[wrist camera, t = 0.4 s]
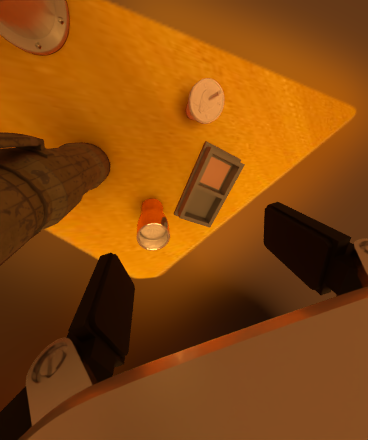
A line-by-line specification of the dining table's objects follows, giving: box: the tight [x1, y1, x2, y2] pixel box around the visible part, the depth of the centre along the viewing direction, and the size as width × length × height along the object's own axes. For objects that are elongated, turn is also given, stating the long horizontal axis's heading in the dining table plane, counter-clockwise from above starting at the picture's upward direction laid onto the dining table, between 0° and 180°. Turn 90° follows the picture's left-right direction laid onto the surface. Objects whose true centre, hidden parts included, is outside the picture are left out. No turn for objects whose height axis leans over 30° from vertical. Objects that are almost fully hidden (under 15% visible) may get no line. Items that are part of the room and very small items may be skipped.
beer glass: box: [137, 198, 170, 250], centre depth 38 cm, size 7×7×15 cm
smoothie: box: [186, 78, 224, 124], centre depth 29 cm, size 6×6×14 cm
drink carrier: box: [174, 141, 244, 227], centre depth 43 cm, size 11×21×4 cm, turn 156°
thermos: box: [0, 133, 110, 265], centre depth 21 cm, size 9×12×35 cm
